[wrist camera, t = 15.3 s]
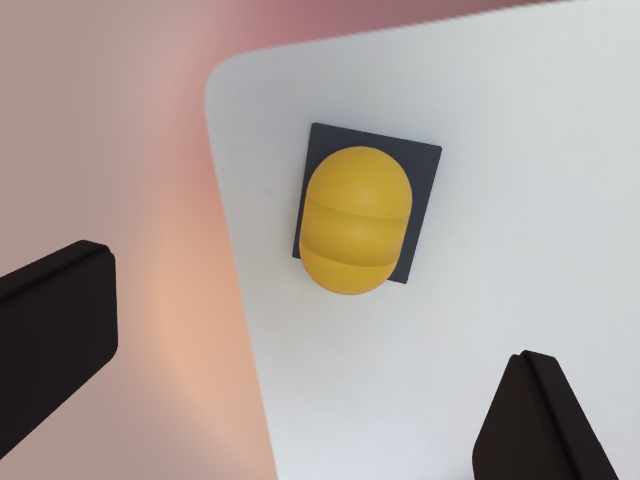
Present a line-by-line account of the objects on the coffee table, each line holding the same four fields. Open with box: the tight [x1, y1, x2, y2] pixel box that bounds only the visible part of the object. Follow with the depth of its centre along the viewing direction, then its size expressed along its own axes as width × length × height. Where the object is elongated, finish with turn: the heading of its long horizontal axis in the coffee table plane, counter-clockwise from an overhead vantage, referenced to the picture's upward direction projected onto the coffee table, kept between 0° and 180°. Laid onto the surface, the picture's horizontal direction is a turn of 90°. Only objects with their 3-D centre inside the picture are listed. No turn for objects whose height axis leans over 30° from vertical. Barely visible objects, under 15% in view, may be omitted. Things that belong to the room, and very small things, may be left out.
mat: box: [292, 123, 442, 284], centre depth 24 cm, size 8×7×1 cm
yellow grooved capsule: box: [299, 146, 412, 295], centre depth 21 cm, size 8×5×5 cm
